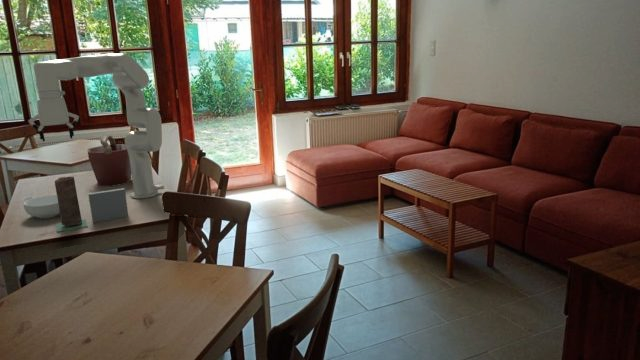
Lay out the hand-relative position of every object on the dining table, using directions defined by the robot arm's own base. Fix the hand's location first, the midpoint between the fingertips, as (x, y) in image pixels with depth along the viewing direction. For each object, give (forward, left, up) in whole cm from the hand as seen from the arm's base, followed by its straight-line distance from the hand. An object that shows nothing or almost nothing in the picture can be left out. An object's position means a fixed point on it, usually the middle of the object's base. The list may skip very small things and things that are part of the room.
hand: (57, 139), depth 194 cm
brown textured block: (0, 0, -36) cm, 36 cm away
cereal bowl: (+8, -21, -36) cm, 42 cm away
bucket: (-24, -65, -36) cm, 78 cm away
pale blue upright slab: (-15, -1, -36) cm, 39 cm away
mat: (0, 0, -36) cm, 36 cm away
